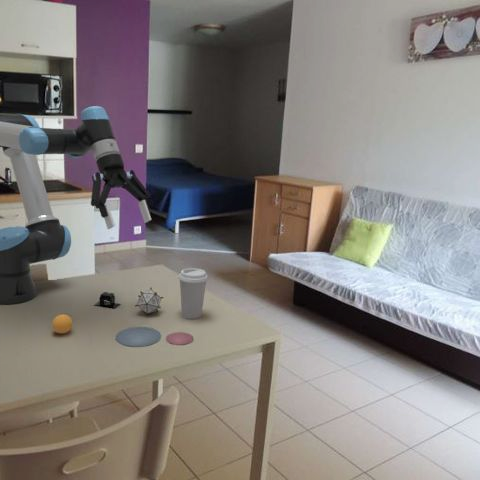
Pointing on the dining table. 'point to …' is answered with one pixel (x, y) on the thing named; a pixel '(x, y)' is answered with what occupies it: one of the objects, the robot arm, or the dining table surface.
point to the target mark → (138, 336)
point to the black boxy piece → (107, 297)
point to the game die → (149, 301)
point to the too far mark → (179, 338)
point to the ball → (62, 324)
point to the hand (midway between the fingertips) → (130, 224)
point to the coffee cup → (192, 292)
